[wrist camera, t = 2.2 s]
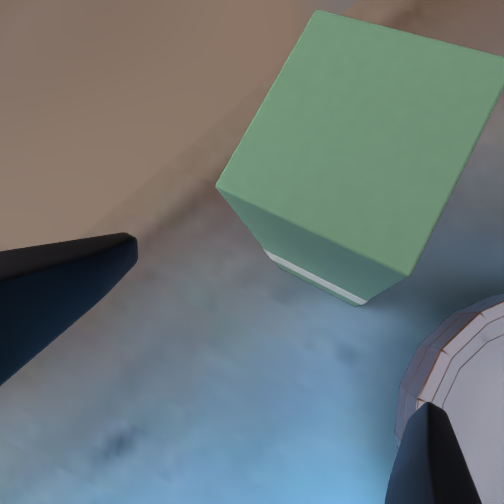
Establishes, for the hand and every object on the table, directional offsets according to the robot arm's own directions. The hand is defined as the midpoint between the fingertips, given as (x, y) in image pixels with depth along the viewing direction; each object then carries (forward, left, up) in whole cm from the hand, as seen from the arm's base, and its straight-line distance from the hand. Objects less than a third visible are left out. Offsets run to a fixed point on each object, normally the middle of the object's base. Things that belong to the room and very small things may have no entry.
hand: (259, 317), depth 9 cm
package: (+6, 0, -12) cm, 13 cm away
